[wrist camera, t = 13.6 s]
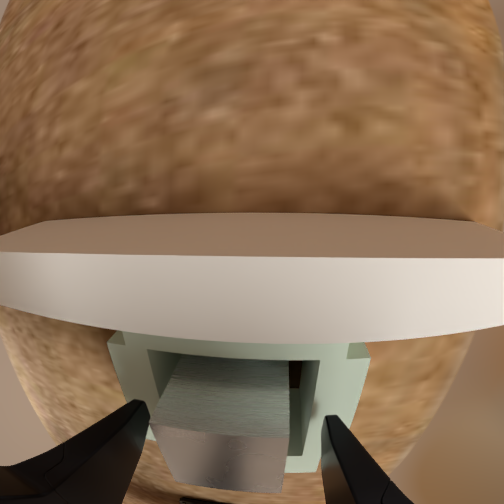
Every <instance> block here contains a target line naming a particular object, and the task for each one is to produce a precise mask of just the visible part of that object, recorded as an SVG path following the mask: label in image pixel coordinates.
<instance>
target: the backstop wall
mask: <svg viewBox="0 0 504 504" xmlns="http://www.w3.org/2000/svg"><path fill="white" fill-rule="evenodd" d="M0 305H2V306H5V307H9V308H13V309H16V310H20V311H24V312H28V313H32V314H36V315H40V316H45V317H49V318H54V319H58V320H63V321H68V322H73V323H78V324H83V325H89V326H94V327H100V328H106V329H112V330H119V331H126V332H133V333H140V334H148V335H156V336H165V337H174V338H184V339H195V340H208V341H222V342H240V343H267V344H332V343H358V342H375V341H389V340H401V339H412V338H422V337H430V336H439V335H446V334H453V333H460V332H467V331H473V330H479V329H484V328H490V327H495V326H500V325H504V232H501V231H499V230H496V229H493V228H491V227H488V226H485V225H482V224H480V223H477V222H471V221H459V220H446V219H432V218H417V217H400V216H380V215H356V214H323V213H187V214H154V215H130V216H110V217H93V218H77V219H63V220H50V221H43V222H40V223H37V224H34V225H31V226H28V227H25V228H22V229H19V230H16V231H13V232H10V233H7V234H4V235H1V236H0Z"/></svg>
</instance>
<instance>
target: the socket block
mask: <svg viewBox="0 0 504 504" xmlns="http://www.w3.org/2000/svg"><path fill="white" fill-rule="evenodd" d="M107 345H108V349H109V352H110V355H111V359H112V362H113V365H114V368H115V371H116V374H117V377H118V380H119V383H120V385H121V388H122V391H123V394H124V396H125V399H126V401H127V403H128V402H130V401H131V400H133V399H139V400H143V401H145V402H146V405H147V407H148V410H149V413H150V417H151V416H152V414H153V412H154V410H155V408H156V406H157V404H158V402H159V400H160V398H161V396H162V394H163V392H164V390H165V388H166V386H167V384H168V382H169V380H170V378H171V376H172V374H173V372H174V370H175V368H176V366H177V364H178V362H179V360H180V358H181V356H182V354H190V355H200V356H211V357H223V358H239V359H259V360H302V369H301V377H300V386H299V388H289V445H288V452H287V459H286V465H285V472H284V473H302V472H316V470H317V467H318V464H319V461H320V458H321V429H322V425H323V420H324V417H325V416H326V415H334V414H335V415H338V416H339V417H340V419H341V420H342V421H343V422H344V424H345V425H346V426H347V427H348V429H349V428H350V426H351V423H352V420H353V417H354V414H355V411H356V408H357V405H358V402H359V398H360V395H361V392H362V388H363V385H364V381H365V378H366V374H367V371H368V367H369V363H370V359H371V357H370V355H369V352H368V350H367V348H366V345H365V343H364V342H358V343H332V344H267V343H240V342H222V341H208V340H195V339H184V338H174V337H165V336H156V335H148V334H140V333H133V332H126V331H119V330H117V331H116V332H115V334H114V335H113V336H112V337H111V338H110V339H109V340H108V341H107ZM146 439H149V440H154V441H156V439H155V437H154V435H153V432H152V430H151V427H150V425H149V427H148V431H147V435H146Z"/></svg>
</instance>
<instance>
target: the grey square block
mask: <svg viewBox="0 0 504 504" xmlns="http://www.w3.org/2000/svg"><path fill="white" fill-rule="evenodd" d="M149 425H150V427H151V430H152V432H153V435H154V437H155V439H156V442H157V444H158V446H159V448H160V451H161V453H162V455H163V457H164V459H165V461H166V463H167V465H168V467H169V470H170V472H171V474H172V476H173V477H174V479H175V481H176V482H181V483H186V484H191V485H197V486H203V487H210V488H217V489H225V490H234V491H246V492H262V493H281V490H282V484H283V478H284V472H285V465H286V459H287V452H288V445H289V360H259V359H239V358H223V357H211V356H200V355H190V354H182V356H181V358H180V360H179V362H178V364H177V366H176V368H175V370H174V372H173V374H172V376H171V378H170V380H169V382H168V384H167V386H166V388H165V390H164V392H163V394H162V396H161V398H160V400H159V402H158V404H157V406H156V408H155V410H154V412H153V414H152V416H151V418H150V421H149Z"/></svg>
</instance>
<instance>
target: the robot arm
mask: <svg viewBox="0 0 504 504" xmlns="http://www.w3.org/2000/svg"><path fill="white" fill-rule="evenodd" d="M150 418H151V417H150V413H149V410H148V407H147V405H146V402H145V401H143V400H139V399H133V400H131V401H130V402H128V403H127V404H125V405H124V406H122V407H121V408H119V409H117V410H116V411H114V412H113V413H111V414H110V415H108V416H106V417H105V418H103V419H102V420H100V421H98V422H97V423H95V424H94V425H92V426H90V427H89V428H87V429H85V430H84V431H82V432H80V433H79V434H77V435H75V436H74V437H72V438H70V439H69V440H67V441H65V443H62V444H60V445H58V446H56V447H55V448H53V449H51V450H49V451H47V452H45V453H43V454H40V455H38V456H36V457H33V458H31V459H28V460H26V461H23V462H21V463H18V464H15V465H11V466H0V504H122V502H123V499H124V496H125V494H126V491H127V489H128V486H129V484H130V481H131V479H132V476H133V474H134V471H135V469H136V466H137V464H138V461H139V459H140V456H141V453H142V450H143V446H144V442H145V439H146V435H147V431H148V427H149V421H150ZM321 469H322V479H323V486H324V493H325V500H326V504H414V503H413V502H412V501H411V500H409V499H408V498H407V497H406V496H405V495H404V494H403V493H402V492H401V490H399V488H398V487H397V486H396V485H395V484H394V483H393V481H390V478H389V477H388V476H387V474H386V473H385V472H384V471H383V470H382V469H381V467H380V466H379V465H378V464H377V463H376V461H375V460H374V459H373V458H372V457H371V455H370V454H369V453H368V452H367V451H366V449H365V448H364V447H363V446H362V445H361V443H360V442H359V441H358V440H357V438H356V437H355V436H354V435H353V434H352V432H351V431H350V430H349V429H348V427H347V426H346V425H345V424H344V422H343V421H342V420H341V419H340V417H339V416H338V415H335V414H334V415H326V416H325V417H324V420H323V425H322V429H321ZM179 502H180V504H216V503H209V502H203V501H197V500H192V499H186V498H180V500H179Z"/></svg>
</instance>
